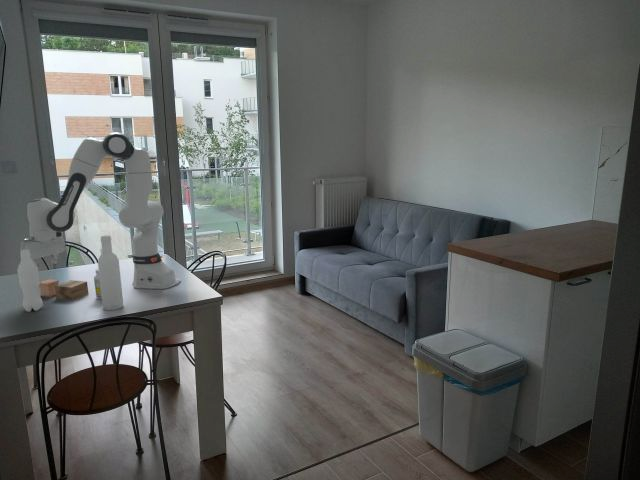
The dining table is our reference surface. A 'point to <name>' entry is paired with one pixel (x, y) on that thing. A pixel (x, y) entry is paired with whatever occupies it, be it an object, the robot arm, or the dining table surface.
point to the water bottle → (29, 282)
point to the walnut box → (71, 290)
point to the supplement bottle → (97, 285)
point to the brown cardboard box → (48, 287)
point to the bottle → (109, 276)
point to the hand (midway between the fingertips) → (45, 265)
